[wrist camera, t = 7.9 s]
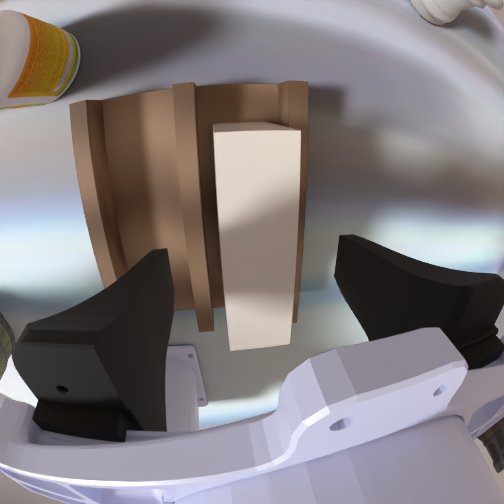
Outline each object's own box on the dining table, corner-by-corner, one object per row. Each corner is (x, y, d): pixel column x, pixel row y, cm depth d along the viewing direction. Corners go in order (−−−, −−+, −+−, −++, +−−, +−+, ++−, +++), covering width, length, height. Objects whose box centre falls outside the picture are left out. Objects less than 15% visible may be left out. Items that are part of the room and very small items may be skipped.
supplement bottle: (74, 16, 11) (-12, -25, 2) (91, 80, 14) (-6, 70, 5) (13, 58, 11) (-82, 55, 3) (28, 119, 14) (-73, 147, 5)
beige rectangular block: (265, 272, 20) (289, 344, 14) (222, 275, 20) (229, 351, 14) (265, 121, 16) (300, 130, 10) (212, 123, 15) (213, 132, 9)
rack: (285, 293, 23) (296, 322, 20) (118, 305, 21) (108, 335, 18) (290, 86, 16) (308, 81, 13) (79, 106, 14) (54, 108, 11)
